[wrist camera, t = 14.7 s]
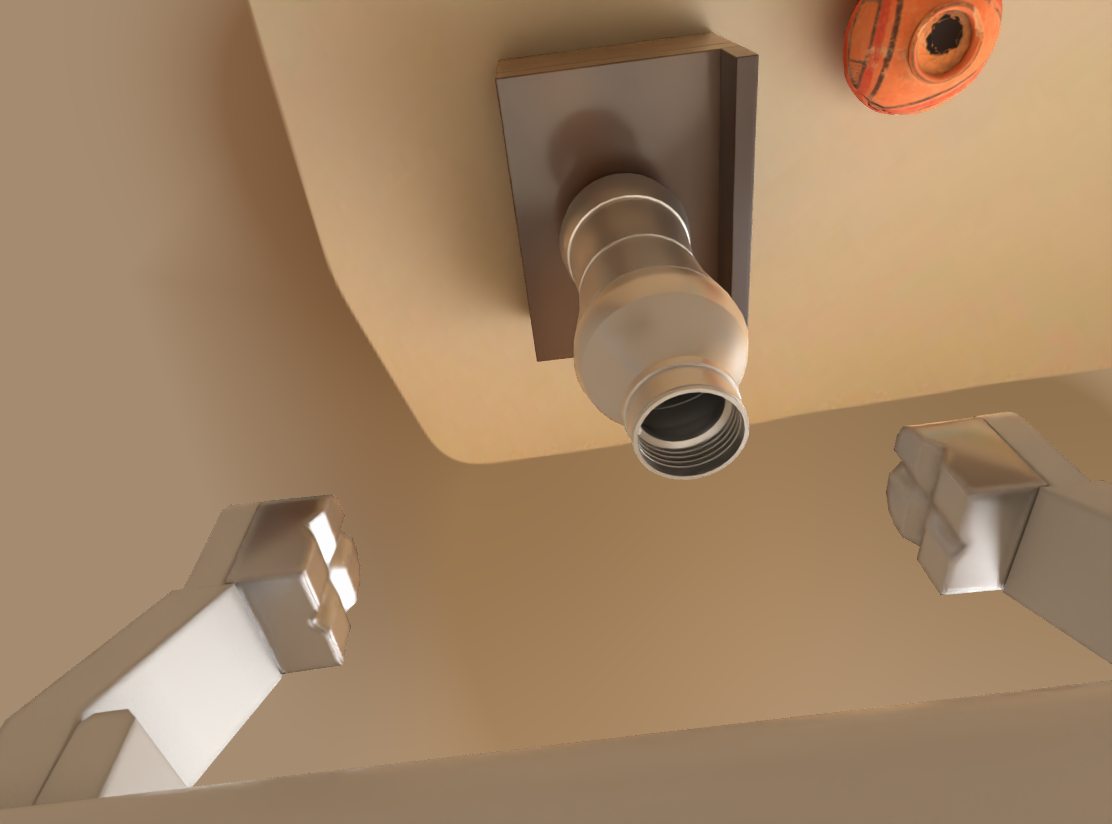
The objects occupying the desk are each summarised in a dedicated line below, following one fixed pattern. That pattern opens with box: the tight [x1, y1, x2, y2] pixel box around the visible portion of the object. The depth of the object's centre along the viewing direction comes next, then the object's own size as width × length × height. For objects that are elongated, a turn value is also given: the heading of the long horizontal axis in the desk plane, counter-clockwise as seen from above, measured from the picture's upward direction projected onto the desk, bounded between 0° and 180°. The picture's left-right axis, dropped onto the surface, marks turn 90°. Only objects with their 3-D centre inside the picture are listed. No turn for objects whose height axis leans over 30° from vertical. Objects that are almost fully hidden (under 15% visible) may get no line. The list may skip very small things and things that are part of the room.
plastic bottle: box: [559, 173, 749, 480], centre depth 31 cm, size 6×7×20 cm
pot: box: [843, 0, 1002, 115], centre depth 37 cm, size 8×8×7 cm
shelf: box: [495, 32, 759, 362], centre depth 40 cm, size 12×16×9 cm
